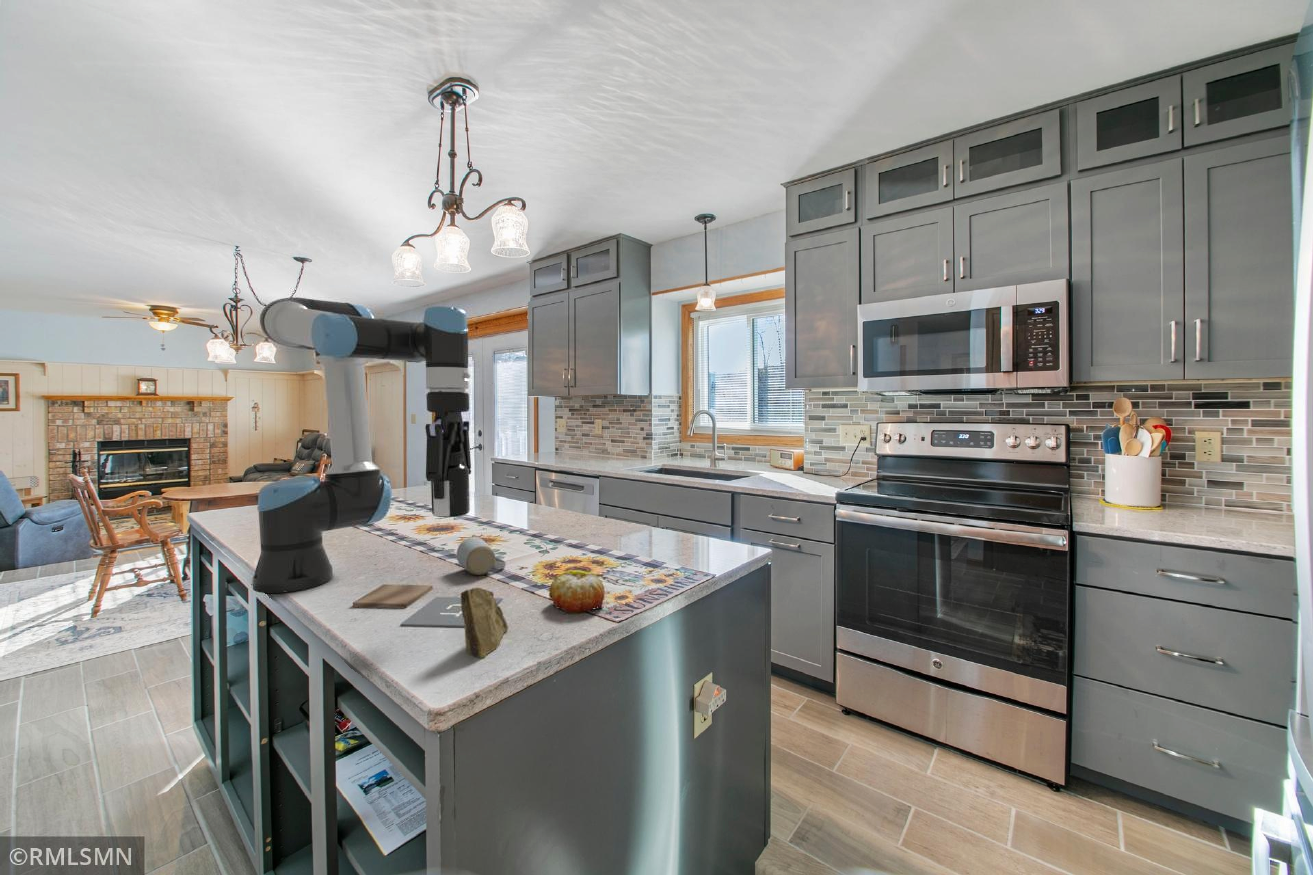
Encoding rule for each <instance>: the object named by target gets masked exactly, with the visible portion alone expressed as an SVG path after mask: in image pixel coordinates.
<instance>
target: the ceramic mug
mask: <svg viewBox="0 0 1313 875" xmlns="http://www.w3.org/2000/svg"><path fill="white" fill-rule="evenodd" d="M456 560H457V562H458V564H459V565H460V566H461V567H463V569H465V570H466V571H467V572H469V573H470V574H471V575H475V576H482V575H486V574H488V573H489V572H490V571H491V570H492V569H494V568H495V569H499V570H503V569H505V568H506V565H507V562H506V561H505V560H504V559H501V558H499V557H498V556H496V553H495V551H494V549H493V548H492V546H490V545H489V544H488V543H486V541H485V540H484V539H482V538H480V537H476V536H475V537H474V536H473V537H468V538H466V539H464V540H463V541H462V542H461V543H460V544H459V545H458V547H457V549H456Z"/></svg>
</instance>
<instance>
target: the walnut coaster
mask: <svg viewBox="0 0 1313 875" xmlns="http://www.w3.org/2000/svg"><path fill="white" fill-rule="evenodd" d="M432 590H433V585H432V584H431V585H430V584H429V585H428V584H382V585H380V586H379V587H377V588H375V589H373V590H371V591H370V592H369V593H367V594H365V595H362V597H360V598H358V599H357V600H354V601H353V602H352V607H355V608H356V607H358V608H397V609H399V608H401V609H402V608H403V609H407V608H408V607H410V606H411V605H412V604H413V603H416V602H417V601H418V600H419V599H421V598H422V597H423V596H425V595H426V594H428V593H429V592H431V591H432Z"/></svg>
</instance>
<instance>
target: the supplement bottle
mask: <svg viewBox="0 0 1313 875" xmlns="http://www.w3.org/2000/svg"><path fill="white" fill-rule="evenodd" d="M462 461H463V452H462V451H450V455H449V463H448V471H447V478H446V481H449V499H450V516H435V517H437V518H455V517H461V516H465V515H467V514H469V513H470V510H471V509H470V508H471V507H470V503H471V502H470V500H471V499H470V474H469V470H468V468H467V467H466V466H465V465H463V464H462ZM430 490H431V492H430V493H431V513H432V515H433V516H434V503H433V481H430Z"/></svg>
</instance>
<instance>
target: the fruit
mask: <svg viewBox="0 0 1313 875" xmlns="http://www.w3.org/2000/svg"><path fill="white" fill-rule="evenodd" d="M548 590H549V591H548V592H549V593H548V597H550V599H551V600H552V602H553V604H554V605H555V607H556V608H558V609H560V610H564V611H565V612H566V613H571V614H574V613H576V614H577V613H579V612H580V613H581V612H582V611H584V612H582V613H586V612H585V611H588V610H590V611H592V610H591V609H593V608H597V607H599V606H600V607H601V606H602V605H603V604H604V602H603V601H604V599H605V594H606V592H605V586H604V583H603V581H602V580H601V579H600V578H599V577H598V576H597V575H596V574H594V573H592V572H586V571H583V570H581V569H579V570H578V569H573V570H572V569H570V570H566V571H564V572H561V573H560V574H558V575H556V577H555V578H554V579H553V580H552V582H551V584H550V586H549V589H548ZM600 607H599V608H600ZM597 609H598V608H597ZM588 612H589V611H588Z"/></svg>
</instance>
